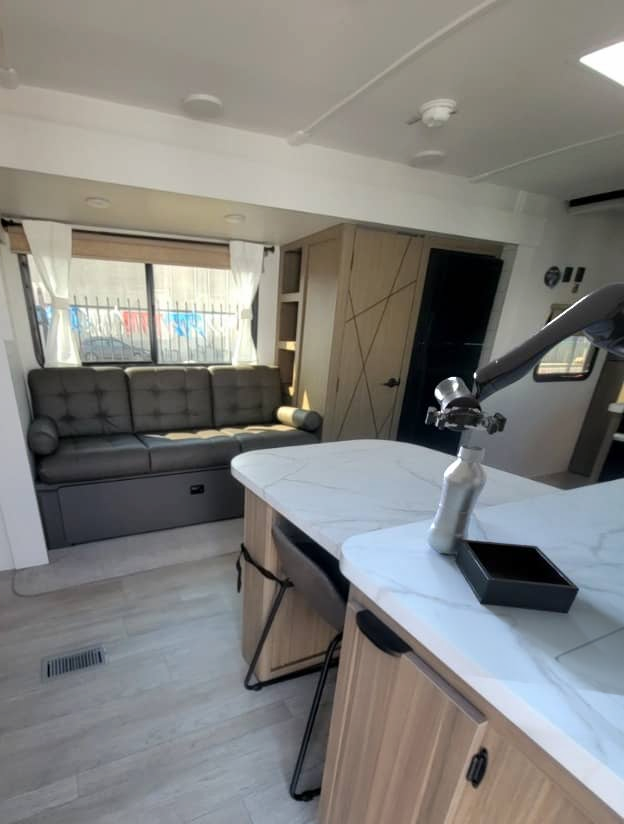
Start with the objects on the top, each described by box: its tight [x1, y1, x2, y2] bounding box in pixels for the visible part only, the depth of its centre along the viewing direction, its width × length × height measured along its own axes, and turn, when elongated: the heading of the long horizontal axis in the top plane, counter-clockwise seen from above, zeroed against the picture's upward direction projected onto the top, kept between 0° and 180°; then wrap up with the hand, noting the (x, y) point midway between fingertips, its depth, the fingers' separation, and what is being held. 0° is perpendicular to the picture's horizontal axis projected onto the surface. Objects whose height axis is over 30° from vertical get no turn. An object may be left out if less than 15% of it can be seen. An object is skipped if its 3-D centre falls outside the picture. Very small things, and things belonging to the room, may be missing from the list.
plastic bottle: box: [426, 444, 487, 555], centre depth 72 cm, size 6×7×20 cm
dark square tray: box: [454, 539, 580, 614], centre depth 66 cm, size 12×12×4 cm
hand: (467, 426), depth 77 cm, fingers open, 8 cm apart
